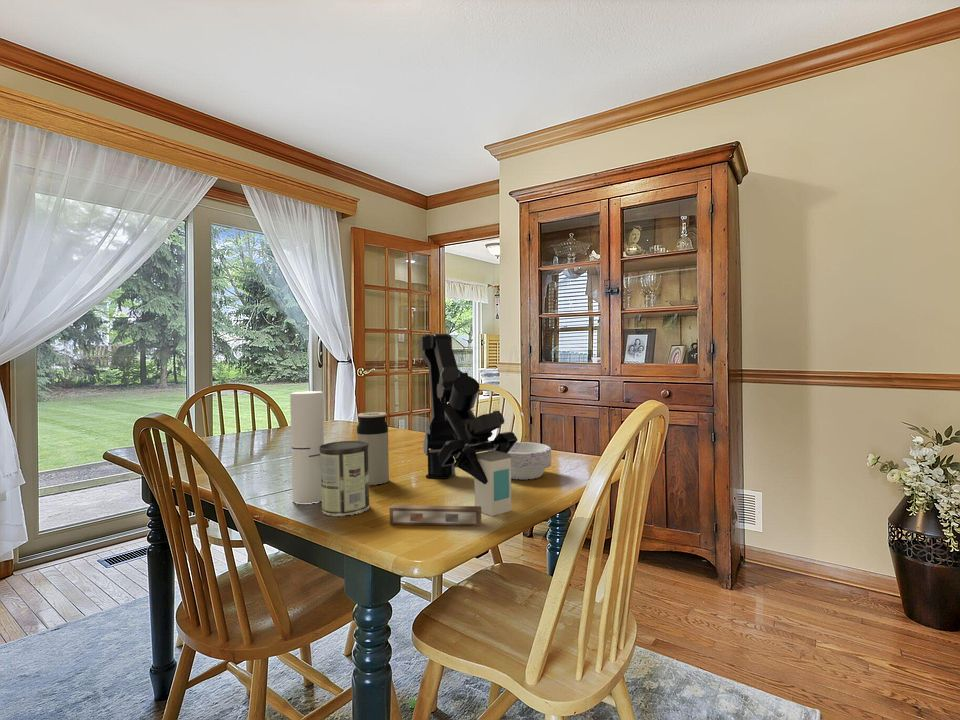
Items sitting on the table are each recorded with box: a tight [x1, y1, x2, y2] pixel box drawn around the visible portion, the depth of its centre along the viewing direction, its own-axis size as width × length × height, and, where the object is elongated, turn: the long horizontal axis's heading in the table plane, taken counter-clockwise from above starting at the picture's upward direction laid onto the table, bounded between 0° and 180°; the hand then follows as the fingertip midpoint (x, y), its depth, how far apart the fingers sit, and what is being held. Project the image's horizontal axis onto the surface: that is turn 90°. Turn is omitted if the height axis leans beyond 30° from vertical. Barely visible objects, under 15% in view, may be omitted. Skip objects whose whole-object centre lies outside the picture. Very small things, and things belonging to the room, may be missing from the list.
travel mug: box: [356, 411, 390, 486], centre depth 131 cm, size 8×8×18 cm
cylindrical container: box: [289, 390, 325, 503], centre depth 116 cm, size 7×7×25 cm
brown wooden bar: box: [389, 504, 482, 527], centre depth 98 cm, size 18×3×3 cm, turn 84°
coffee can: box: [319, 440, 371, 517], centre depth 109 cm, size 10×10×14 cm
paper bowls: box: [508, 441, 552, 481], centre depth 135 cm, size 15×15×8 cm
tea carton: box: [474, 450, 512, 517], centre depth 106 cm, size 6×6×12 cm
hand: (496, 480), depth 105 cm, fingers closed on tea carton, 5 cm apart
